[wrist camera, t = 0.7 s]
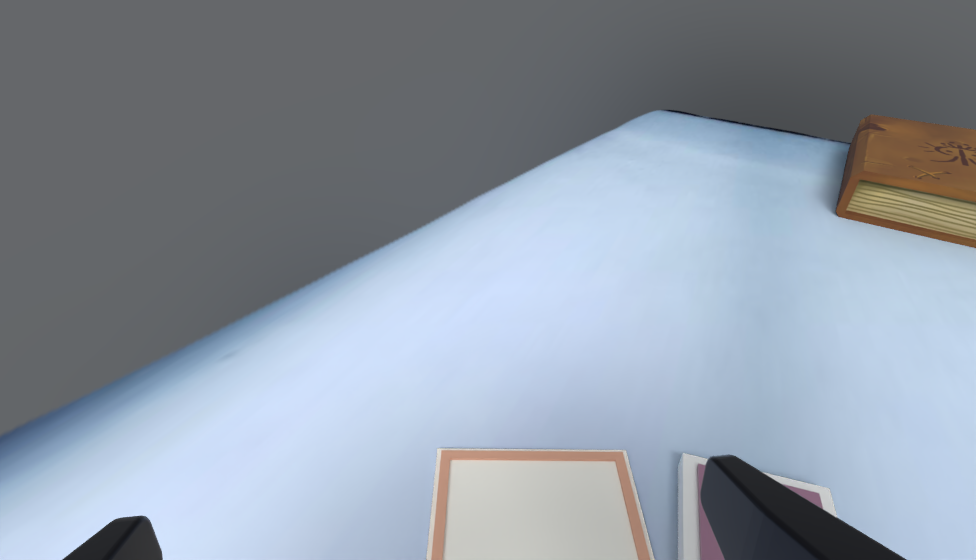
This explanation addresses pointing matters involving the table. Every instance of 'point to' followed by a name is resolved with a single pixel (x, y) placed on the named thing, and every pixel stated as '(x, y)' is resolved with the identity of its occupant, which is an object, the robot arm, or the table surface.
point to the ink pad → (694, 531)
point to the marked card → (535, 506)
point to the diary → (912, 179)
